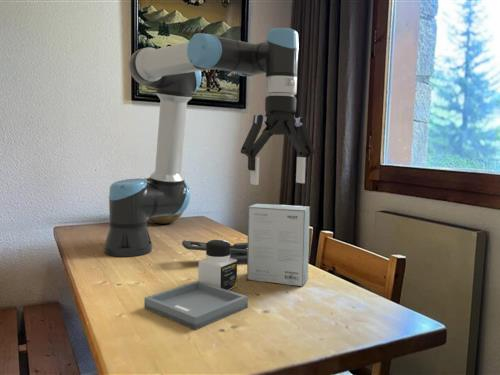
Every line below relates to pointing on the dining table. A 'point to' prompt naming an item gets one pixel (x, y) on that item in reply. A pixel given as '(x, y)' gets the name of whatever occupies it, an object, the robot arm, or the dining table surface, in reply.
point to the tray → (196, 304)
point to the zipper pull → (236, 250)
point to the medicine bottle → (218, 266)
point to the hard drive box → (278, 243)
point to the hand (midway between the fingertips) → (278, 183)
